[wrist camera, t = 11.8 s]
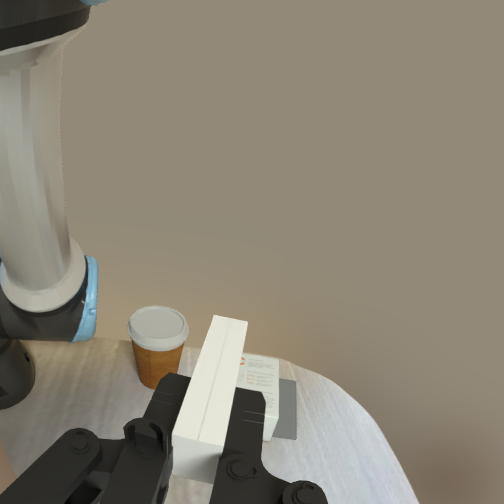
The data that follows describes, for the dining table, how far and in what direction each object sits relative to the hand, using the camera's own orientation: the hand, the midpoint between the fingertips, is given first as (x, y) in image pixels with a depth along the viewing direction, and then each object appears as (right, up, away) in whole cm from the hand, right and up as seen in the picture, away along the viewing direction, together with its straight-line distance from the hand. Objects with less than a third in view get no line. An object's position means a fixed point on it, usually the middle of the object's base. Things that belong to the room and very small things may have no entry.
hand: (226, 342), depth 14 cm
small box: (0, -21, +27) cm, 34 cm away
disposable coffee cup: (-15, -17, +37) cm, 43 cm away
